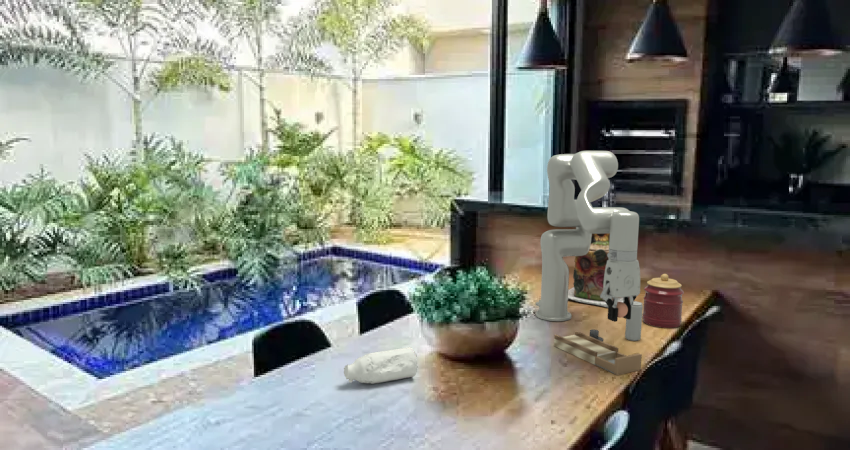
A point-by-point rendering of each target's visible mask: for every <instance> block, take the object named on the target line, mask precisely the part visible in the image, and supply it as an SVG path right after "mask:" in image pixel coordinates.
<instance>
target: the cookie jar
mask: <svg viewBox="0 0 850 450" xmlns="http://www.w3.org/2000/svg"><path fill="white" fill-rule="evenodd" d="M609 238H610V233H605V234H592V237H591V245H590V249H589V252H588V253H587V254H586V255H583V256H574V257H575V258H574V270H573V273H572V274H573V275H572V278H573V283H572V284H573V287H571V288H568V300H572V301H575V302H579V303H584V304H590V305H595V306H599V307H605V308H608V306H607V305H606V303H605V301H604V300H603V299H601V298H600V295H601V293H602V291H603V283H604V274H605V268H606V264H607V260H608V256H607V254H608V253H609ZM613 299H614V298H612V301H613ZM618 302H623V298H618Z"/></svg>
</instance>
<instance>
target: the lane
mask: <svg viewBox="0 0 850 450" xmlns="http://www.w3.org/2000/svg"><path fill="white" fill-rule="evenodd" d="M553 347H555V348H557V349H559V350H562V351H564V352H565V353H568V354H570V355H572V356H575V357H576V358H579V359H581V360H583V361H585V362H588V363H590V364H592V365H594V366H596V365H595V357H600V358H602V359H604V360H606V361H609V360H613V359H615V358H616V352H619V347H617V346H615V345H612V344H609V343H607V342H605V341H603V342H602V341H600V340H598V339H595V338H593V337H590V335H588V334H586V333H583V332H581V331H578V330H575V331H574V334H573V335H567V336H561V335H558V334H554V336H553Z"/></svg>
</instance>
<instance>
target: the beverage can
mask: <svg viewBox="0 0 850 450" xmlns="http://www.w3.org/2000/svg"><path fill="white" fill-rule="evenodd" d="M643 307H644V304H643V302H640V301H636V300H634V301H633V305H631V319H629V320H628V319H625V333H624V338H625V339H626V340H628V341H632V342H637V341H640V340H641V337H642V323H643V318H642V316H643V315H642V314H643Z"/></svg>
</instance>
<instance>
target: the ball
mask: <svg viewBox="0 0 850 450" xmlns="http://www.w3.org/2000/svg"><path fill="white" fill-rule="evenodd" d="M616 307H617V308H618V318H622V317H624V316H625V315H626V314H627V312H628V308H627V306H626V304H625V303H623V302H617V306H616Z"/></svg>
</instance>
